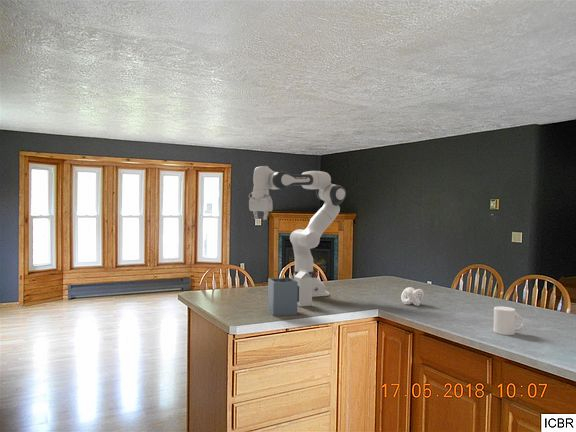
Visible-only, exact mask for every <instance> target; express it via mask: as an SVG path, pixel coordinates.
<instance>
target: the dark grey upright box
mask: <svg viewBox="0 0 576 432" xmlns="http://www.w3.org/2000/svg"><path fill="white" fill-rule="evenodd" d="M279 278H280V277H278V278H276V277H275V278H274V277H273V278H272V277H271V278H268V280H267V311H268V312H269V313H270V314H271V315H272V316H275V315H276V316H291V315H293V316H294V315H298V305H297V302H299V285H298V282H297V281H296V280H294V278H293V277H285V278H286V282H279Z"/></svg>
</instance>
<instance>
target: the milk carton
mask: <svg viewBox="0 0 576 432" xmlns="http://www.w3.org/2000/svg"><path fill="white" fill-rule="evenodd" d="M293 279H294V280H296V281H297V282H298V285H299V302H297V307H308V306H309V307H310V306H312V305H313V297H312V277H311V276H310V275H309V273H308V272H307V270H303V269H300V271H299V272H298V273H297V274H296V275H295V276H294V275H293Z"/></svg>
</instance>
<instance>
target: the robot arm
mask: <svg viewBox="0 0 576 432" xmlns="http://www.w3.org/2000/svg"><path fill="white" fill-rule="evenodd" d="M252 178H253V179H252V181H253V182H252V183H253V188H252V191H251V192H250V193H249V194H248V198H249V200H248V209H249V211H250V212H253V218H254V220H259V215H258V213H259V212H263V216H262V220H263V221H265V220H266V221H267V220H268V215H269V212H272V211H273V210H274V209H273V208H274V207H273V199H272V196H271V195H270V190H287V189H289V188H290V187H292V186H293V187H295V186H301V187H302V189H305V190H315V195H316V197H317V199H318V200H320V201H322V202H324V203H323V205H322V207H320V208H319V209H318V210H317V211H316V213H314V214H313V216H312V217H310V219H309V223H308V225H307V226H306V228H304V229H303V228H302V229H301V228H299V229H295V230H293V231H292V232H291V233H290V235H289V241H290V243H291V245H292V250H293V256H294V271H293V277H294V276H295V275H296V274H297V273H298V272H299V271H300V269H303V270H307V272H308V273H309V275H310V276H311V277H312V298H315V297H316V298H317V297H326V296H327V297H328V296H330V292H329V291H327V290H326V286H325V285H326V284H324V283H323V282H322V281H321V280H320V279H319V278H317V276H319V274H320V273H319V272H317V271H314V257H313V255H312V252H311V249H314V248H316V247H319V246H318V245H319V244H320V241H321V239H320V238H321V237H322V235H323V234H324V232H325V231H326V230H327V228H329V226H330V225H331V224H333V222H334V221H335V220H336V218H337V216H338V215H339V213H340V211H341V207H340V206H341V205H342V203H343V202H344V201H345V199H346V196H347V190H346V188H344V187H343V186H342V185H340V184H333V183H332V182H331V181H332V177H331V175H330V174H329V173H328V172H327V171H326V172H325V171H320V170H309V171H303V172H302V173H301V174H295V173H290V172H288V171H286V170H280V171H274V170H272V169H271V168H270V167H269V166H268V165H261V166H257V167H255V168H254V170H253V176H252Z"/></svg>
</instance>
